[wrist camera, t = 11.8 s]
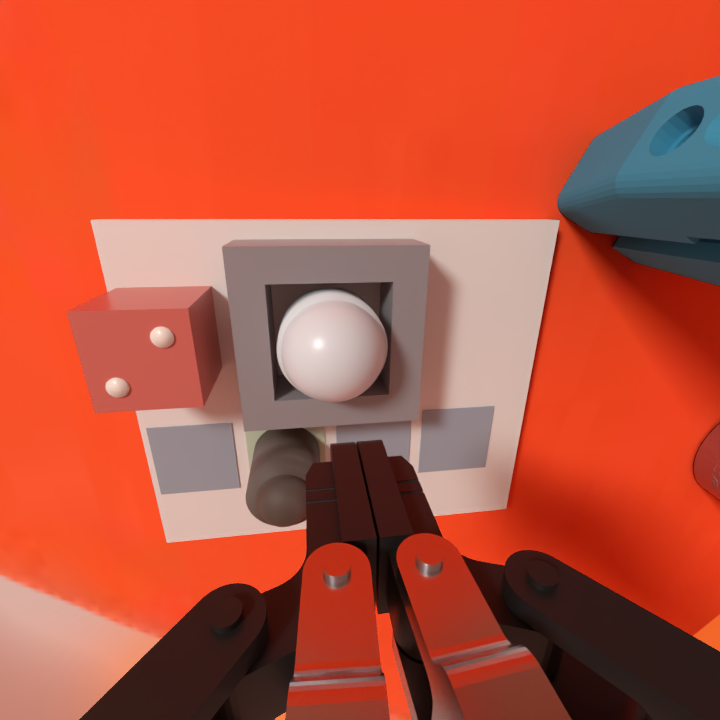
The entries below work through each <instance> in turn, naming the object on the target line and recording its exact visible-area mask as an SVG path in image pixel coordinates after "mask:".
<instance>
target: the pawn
mask: <svg viewBox="0 0 720 720" xmlns="http://www.w3.org/2000/svg"><path fill="white" fill-rule="evenodd" d="M318 462H320V450H319V445H318V442H317V440H316V438H315V437H314V436H313V434H311V433H310V432H309V431H308V430H306V429H304V428H292V429H277V430H267V431H266V432H264V433H263V434H262V435H261V436H260V437H259V439H258V440H257V442H256V445H255V448H254V453H253V459H252V464H251V469H250V474H249V480H248V485H247V490H246V504H247V507H248V509H249V511H250V512H251V514H252V515H253V516H254V517H255V518H257V519H258V520H260V521H261V522H263V523H266V524H269V525H272V526H277V527H288V526H292V525H296V524H299V523H302V522H304V521H306V474H307V472H308V471H309V469H310V467H311V465H312V464H313V463H318Z"/></svg>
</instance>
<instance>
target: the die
mask: <svg viewBox="0 0 720 720" xmlns="http://www.w3.org/2000/svg"><path fill="white" fill-rule="evenodd" d="M67 315H68V319H69V322H70V326H71V329H72V333H73V336H74V340H75V343H76V347H77V351H78V354H79V358H80V361H81V365H82V368H83V372H84V375H85V379H86V382H87V386H88V390H89V393H90V397H91V400H92V404H93V407H94V411H95V413H107V412H124V411H141V410H158V409H175V408H192V407H204V405H205V403H206V401H207V399H208V397H209V395H210V393H211V391H212V388H213V386H214V384H215V382H216V380H217V378H218V376H219V374H220V371H221V369H222V361H221V354H220V346H219V339H218V331H217V324H216V317H215V309H214V302H213V295H212V287H211V286H183V287H134V288H115V289H113V290H111V291H109V292H107V293H105V294H103V295H100V296H98V297H96V298H94V299H92V300H90V301H88V302H86V303H84V304H82V305H80V306H77V307H75V308H73V309H71V310H69V311H67Z"/></svg>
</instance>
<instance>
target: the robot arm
mask: <svg viewBox="0 0 720 720" xmlns="http://www.w3.org/2000/svg"><path fill="white" fill-rule="evenodd" d="M330 460H331V461H330V462H318V463H313V464H312V465H311V467H310V469H309V471H308V472H307V474H306V532H307V553H306V558H305V561H304V563H303V565H302V567H301V568H300V570H299V571H298V572H297V573H296V574H295V575H294V576H293V577H292V578H291V579H290V580H288V581H287V582H285V583H284V584H282V585H280V586H278V587H275V588H273V589H271V590H268V591H266V592H264V593H262V594H261V593H260V592H259V591H258V590H257V589H256V588H254V587H252V586H250V585H246V584H239V583H237V584H229V585H225V586H222V587H219V588H217V589H215V590H213V591H212V592H210V593H209V594H207V595H206V596H205V597H204V598H203V599H201V600H200V601H199V602H198V603H197V604H196V605H195V606H194V607H193V608H192V609H191V610H190V611H189V612H188V613H187V614H186V615H185V616H184V617H183V618H182V619H181V620H180V621H179V622H178V623H177V624H176V625H175V626H174V627H173V628H172V629H171V630H170V631H169V632H168V633H167V634H166V635H165V636H164V637H163V638H162V639H161V640H160V641H159V642H158V643H157V644H156V645H155V646H154V647H153V648H152V649H151V650H150V651H149V652H148V653H146V654H145V655H144V656H143V657H142V658H141V659H140V661H138V662H137V663H136V664H135V665H134V666H133V667H132V668H131V669H130V670H129V671H128V672H127V673H126V674H125V675H124V676H123V677H122V678H121V679H120V680H119V681H118V682H117V683H116V684H115V685H114V686H113V687H112V688H111V689H110V690H109V691H108V692H107V693H106V694H105V695H104V696H103V697H102V698H101V699H100V700H99V701H98V702H97V703H96V704H95V705H94V706H93V707H92V708H91V709H90V710H89V711H88V712H87V713H86V714H85V715H84V716H82V718H80V719H79V720H275V718H276V717H278V716H280V715H281V714H283V713H285V712H286V719H285V720H390V717H389V708H388V699H387V690H386V683H385V677H384V673H383V672H382V670H381V663H380V654H379V644H378V634H377V624H376V614H375V601H376V606H377V611H378V614H382V613H389V614H390V619H391V623H392V628H393V635H392V647H393V652H394V656H395V660H396V663H397V667H398V671H399V674H400V678H401V681H402V685H403V689H404V692H405V696H406V700H407V703H408V707H409V710H410V714H411V718H412V720H720V652H719V651H718V650H716V649H714V648H712V647H711V646H709V645H707V644H705V643H703V642H702V641H700V640H698V639H696V638H695V637H693V636H691V635H690V634H688V633H686V632H684V631H682V630H681V629H679V628H677V627H675V626H674V625H672V624H670V623H668V622H667V621H665V620H663V619H661V618H660V617H658V616H656V615H654V614H652V613H651V612H649V611H647V610H645V609H644V608H642V607H640V606H638V605H637V604H635V603H633V602H631V601H630V600H628V599H626V598H624V597H622V596H621V595H619V594H617V593H615V592H614V591H612V590H610V589H608V588H607V587H605V586H603V585H601V584H600V583H598V582H596V581H594V580H592V579H591V578H589V577H587V576H585V575H584V574H582V573H580V572H578V571H577V570H575V569H573V568H571V567H570V566H568V565H566V564H564V563H562V562H561V561H559V560H557V559H555V558H554V557H552V556H550V555H547V554H545V553H542V552H538V551H532V550H523V551H518V552H516V553H514V554H512V555H511V556H510V557H509V558H508V559H507V561H506V564H505V566H503V565H497V564H491V563H486V562H480V561H476V560H472V559H469V558H467V557H465V556H463V555H461V554H460V552H459V551H458V549H457V548H456V547H455V546H454V545H453V544H452V543H451V542H450V541H448V540H446V539H445V538H443V536H442V534H441V532H440V530H439V527H438V525H437V522H436V520H435V518H434V515H433V513H432V510H431V508H430V506H429V503H428V501H427V498H426V496H425V494H424V493H423V489H422V486H421V484H420V482H419V480H418V477H417V475H416V472H415V470H414V467H413V466H412V465H411V464H410V463H409V462H408V461H407V460H406V459H405V458H403V457H402V456H389V457H388V456H387V453H386V450H385V447H384V444H383V441H382V440H369V441H357V443H355V442H344V443H332V444H330ZM694 475H695V479H696V481H697V482H698V484H699V485H700V486H701V487H703V488H704V489H705V490H707V491H708V492H710V493H711V494H712V495H714V496H715V497H716V498H718V499H719V500H720V424H719V425H717V426H716V427H715V428H714V429H713V430H712V431H711V433H710V434H709V435H708V436H707V437H706V439H705V440H704V442H703V443H702V444H701V446H700V448H699V450H698V452H697V454H696V458H695V462H694Z"/></svg>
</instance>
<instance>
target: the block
mask: <svg viewBox="0 0 720 720" xmlns="http://www.w3.org/2000/svg"><path fill="white" fill-rule="evenodd" d="M558 208H559V211H560V212H561V213H562V214H563V215H564V216H565V217H567V218H568V219H570V220H571V221H573V222H574V223H576V224H577V225H579V226H580V227H582V228H583V229H585V230H587V231H589V232H593V233H602V234H611V235H619V238H618V239H617V241H616V242H615V244H614V245H613V247H612V248H614V249H615V250H617V251H618V252H620V253H621V254H623V255H624V256H626V257H627V258H629V259H630V260H632V261H633V262H635V263H638V264H642V265H645V266H649V267H653V268H656V269H660V270H663V271H667V272H671V273H674V274H678V275H681V276H685V277H688V278H692V279H696V280H699V281H703V282H706V283H710V284H714V285H717V286H720V76H717V77H714V78H710V79H707V80H704V81H700V82H697V83H694V84H690V85H687V86H683V87H680V88H678V89H676V90H674V91H673V92H671V93H669V94H668V95H666V96H664V97H663V98H661V99H659V100H657V101H656V102H654V103H652V104H651V105H649V106H647V107H646V108H644V109H642V110H640V111H639V112H637V113H635V114H634V115H632V116H630V117H629V118H627V119H625V120H624V121H622V122H620V123H618V124H617V125H615V126H613V127H612V128H610V129H608V130H607V131H605V132H603V133H601V134H600V135H598V136H597V137H596V138H594V140H593V141H592V142H591V144H590V145H589V147H588V149H587V150H586V152H585V153H584V155H583V157H582V158H581V160H580V162H579V163H578V165H577V166H576V168H575V170H574V171H573V173H572V174H571V176H570V178H569V179H568V181H567V183H566V184H565V186H564V187H563V189H562V191H561V192H560V194H559V197H558Z"/></svg>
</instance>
